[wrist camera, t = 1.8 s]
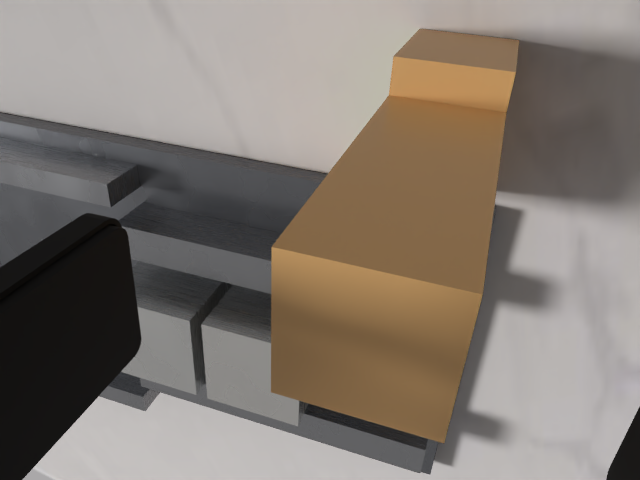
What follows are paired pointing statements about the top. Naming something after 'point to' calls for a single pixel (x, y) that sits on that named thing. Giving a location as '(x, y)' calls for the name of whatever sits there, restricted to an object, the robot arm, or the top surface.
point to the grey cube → (244, 356)
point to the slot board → (175, 238)
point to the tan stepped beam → (397, 243)
